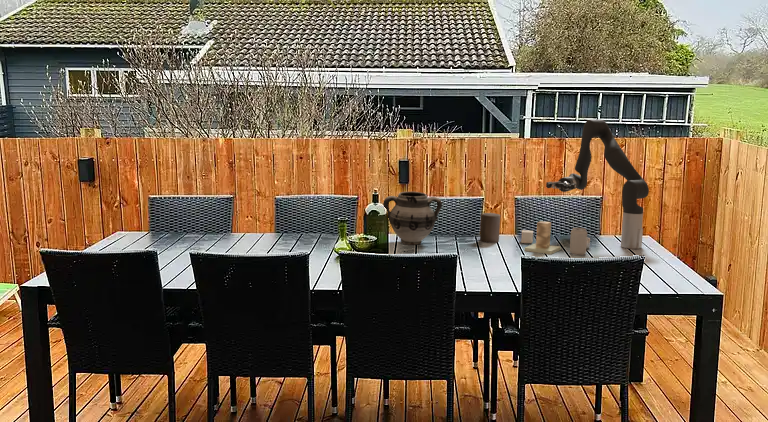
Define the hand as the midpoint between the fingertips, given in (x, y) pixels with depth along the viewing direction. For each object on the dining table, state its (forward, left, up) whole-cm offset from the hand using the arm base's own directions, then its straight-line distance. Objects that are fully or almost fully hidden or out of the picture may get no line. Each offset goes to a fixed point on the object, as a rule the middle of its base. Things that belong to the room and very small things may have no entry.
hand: (556, 186), depth 347 cm
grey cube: (+10, +10, -28) cm, 31 cm away
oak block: (-4, +25, -26) cm, 37 cm away
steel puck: (-18, +8, -28) cm, 34 cm away
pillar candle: (+26, +20, -28) cm, 43 cm away
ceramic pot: (+54, +50, -28) cm, 79 cm away
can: (-20, +22, -28) cm, 41 cm away
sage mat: (-4, +25, -28) cm, 38 cm away
